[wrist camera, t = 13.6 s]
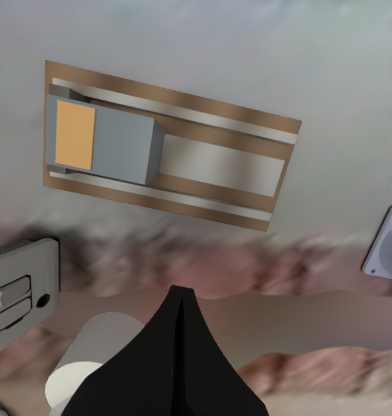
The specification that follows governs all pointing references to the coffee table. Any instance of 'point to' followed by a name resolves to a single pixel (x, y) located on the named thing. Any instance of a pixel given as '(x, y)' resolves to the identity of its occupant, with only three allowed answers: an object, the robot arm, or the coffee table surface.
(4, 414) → the ring around a ball
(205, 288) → the coffee table surface
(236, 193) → the din rail board
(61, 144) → the block
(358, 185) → the coffee table surface
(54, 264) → the electrical switch
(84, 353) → the cylinder with rectangular tab
